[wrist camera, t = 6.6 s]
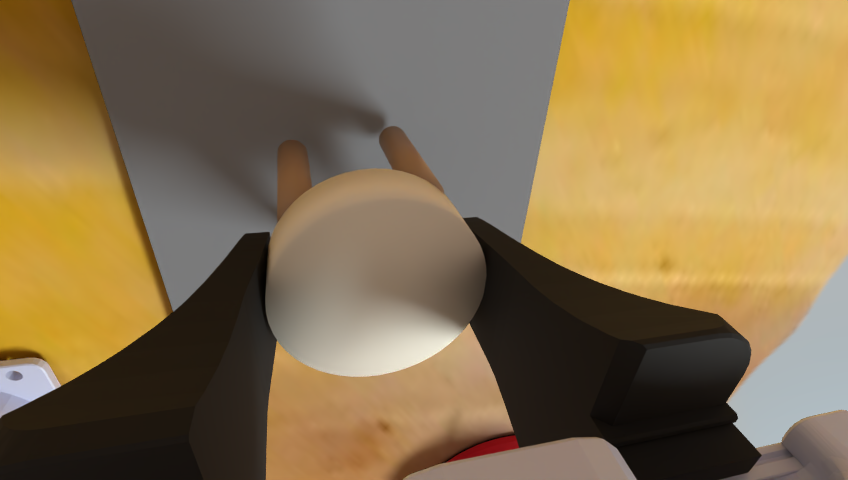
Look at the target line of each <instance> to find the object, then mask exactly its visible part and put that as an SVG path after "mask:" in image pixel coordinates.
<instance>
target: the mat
mask: <svg viewBox="0 0 848 480" xmlns="http://www.w3.org/2000/svg"><path fill="white" fill-rule="evenodd" d="M71 1H72V4H73V7H74V10H75V13H76V16H77V19H78V22H79V25H80V28H81V31H82V35H83V38H84V41H85V44H86V47H87V50H88V53H89V56H90V59H91V62H92V65H93V68H94V71H95V74H96V77H97V80H98V83H99V86H100V89H101V93H102V96H103V99H104V102H105V105H106V108H107V111H108V114H109V117H110V120H111V123H112V126H113V129H114V132H115V135H116V138H117V141H118V144H119V148H120V151H121V154H122V157H123V160H124V163H125V166H126V169H127V172H128V175H129V178H130V181H131V184H132V187H133V190H134V193H135V196H136V199H137V202H138V206H139V209H140V212H141V215H142V218H143V221H144V224H145V227H146V230H147V233H148V236H149V239H150V242H151V245H152V248H153V251H154V254H155V257H156V260H157V264H158V267H159V270H160V273H161V276H162V279H163V282H164V285H165V288H166V291H167V294H168V297H169V300H170V303H171V306H172V309H173V312H174V311H175V310H176V309H177V308H178V307H179V306H181V305H182V304H183V303H184V302H185V301H186V300H187V299H188V298H189V297H190V296H191V295H192V294H193V293H194V292H195V291H196V290H197V289H198V288H199V287H200V286H201V285H202V284H203V283H204V282H205V281H206V279H207V278H208V277H209V276H210V275H211V274H212V273H213V272H214V270H215V269H216V268H217V267H218V266H219V265H220V263H221V262H222V261H223V260H224V259H225V257H226V256H227V255H228V254H229V252H230V251H231V250H232V249H233V247H234V246H235V245H236V244H237V242H238V241H239V240H240V239H241V237H242V236H243V235H244V234H245V233H259V232H270V238H271V235H272V233H273V231H274V229H275V227H276V224H277V223H278V221H277V154H278V148H279V146H280V145H281V144H282V143H283V142H284V141H287V140H297V141H299V142H301V143H302V144H303V145H304V146H305V147H306V149H307V154H308V160H309V167H310V174H311V181H312V187H314V186H315V185H317V184H319V183H321V182H323V181H325V180H327V179H329V178H331V177H334V176H337V175H340V174H343V173H346V172H351V171H356V170H362V169H373V168H376V169H392V167H391V165H390V163H389V162H388V160H387V158H386V156H385V154H384V152H383V150H382V148H381V146H380V144H379V136H380V134H381V132H382V131H383V130H384V129H385V128H387V127H390V126H397V127H399V128H401V129H402V130H403V131H404V133H405V134H406V136H407V137H408V138H409V140H410V141H411V143H412V144H413V146H414V147H415V148H416V150H417V151H418V153H419V154H420V156H421V157H422V158H423V160H424V161H425V163H426V164H427V166H428V167H429V168H430V170H431V171H432V173H433V174H434V176H435V177H436V178H437V180H438V181H439V183H440V184H441V186H442V187H443V189H444V194H445V195H446V196H447V197H448V199H449V200H450V201H451V202H452V204H453V205H454V206H455V208H456V209H457V211H458V212H459V214H460V215H461V217H462V218H469V217H478V218H480V219H482V220H484V221H486V222H487V223H489V224H491V225H492V226H494V227H496V228H497V229H499V230H500V231H502V232H503V233H505V234H507V235H508V236H510V237H511V238H513V239H515V240H516V241H518V242H519V243H521V238H522V234H523V229H524V224H525V219H526V214H527V209H528V204H529V199H530V194H531V189H532V184H533V179H534V174H535V169H536V164H537V159H538V154H539V149H540V144H541V139H542V134H543V129H544V125H545V120H546V115H547V110H548V105H549V100H550V95H551V90H552V85H553V80H554V75H555V70H556V65H557V60H558V55H559V50H560V45H561V40H562V35H563V30H564V25H565V21H566V16H567V11H568V6H569V1H570V0H71ZM392 170H393V169H392Z"/></svg>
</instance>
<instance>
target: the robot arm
mask: <svg viewBox="0 0 848 480" xmlns="http://www.w3.org/2000/svg"><path fill="white" fill-rule="evenodd" d="M463 219H464V221H465V222H466V224H467V225H468V227H469V228H470V230H471V231H472V232H473V234H474V235H475V237H476V239H477V240H478V242H479V244H480V246H481V248H482V251H483V254H484V257H485V262H486V275H487V276H486V282H485V289H484V294H483V298H482V300H481V303H480V305H479V307H478V309H477V311H476V313H475V315H474V316H473V318H472V320H471V321H470V322H469V323H470V325H471V327H472V329H473V331H474V333H475V335H476V337H477V339H478V341H479V343H480V345H481V348H482V350H483V352H484V354H485V356H486V358H487V360H488V362H489V364H490V366H491V369H492V371H493V373H494V375H495V378H496V381H497V384H498V386H499V389H500V392H501V395H502V398H503V400H504V403H505V406H506V409H507V412H508V415H509V418H510V421H511V424H512V427H513V430H514V433H515V436H516V439H517V442H518V446H519V448H517V449H512V450H507V451H502V452H497V453H492V454H487V455H482V456H477V457H472V458H467V459H462V460H457V461H452V462H447V463H442V464H438V465H435V466H432V467H429V468H427V469H424V470H421V471H418V472H415V473H412V474H410V475H408V476H407V477H405V478H404V479H403V480H848V411H846V410H838V411H833V412H828V413H824V414H819V415H814V416H810V417H806V418H804V419H801V420H800V421H798V422H796V423H795V424H794V425H793V426H792V427H791V428H789V430H788V431H787V432H786V434H785V435H784V437H783V438H782V442H781V443H777V444H772V445H768V446H764V447H759V448H755V447H754V446H753V445H752V444H751V443H750V442H749V441H748V440H747V438H746V437H745V436H744V435H743V434H742V433H741V432H740V431H739V430H738V429H737V428H736V427H735V425H734V424H733V423H734V422H736V420H737V419H738V416H737V414H736V412H735V411H734V410H733V409H732V408H731V407H730V406H729V405H728V404H727V403H726V401H727V400H728V398H729V397H730V395H731V394H732V392H733V391H734V389H735V387H736V386H737V384H738V383H739V381H740V380H741V378H742V377H743V375H744V373H745V371H746V369H747V367H748V365H749V362H750V356H751V348H750V344H749V342H748V341H747V340H746V339H745V338H744V337H743V336H742V335H741V334H740V333H738V332H737V331H736V330H735V329H734V328H733V327H732V326H731V325H730V324H728V323H727V322H726V321H725V320H724V319H723V318H722V317H720V316H719V315H718V314H713V313H708V312H704V311H699V310H694V309H689V308H684V307H679V306H674V305H670V304H666V303H662V302H659V301H655V300H651V299H647V298H644V297H640V296H637V295H634V294H631V293H627V292H624V291H621V290H618V289H616V288H613V287H610V286H607V285H604V284H602V283H599V282H596V281H594V280H591V279H589V278H587V277H584V276H582V275H580V274H578V273H575V272H573V271H571V270H569V269H566V268H564V267H562V266H560V265H558V264H556V263H555V262H553V261H551V260H549V259H547V258H545V257H543V256H542V255H540V254H538V253H536V252H534V251H533V250H531V249H529V248H528V247H526V246H524V245H523V244H521V243H519V242H518V241H516V240H515V239H513V238H511V237H510V236H508V235H507V234H505V233H503V232H502V231H500V230H499V229H497V228H496V227H494V226H492V225H491V224H489V223H487V222H486V221H484V220H482V219H480V218H478V217H469V218H463ZM270 239H271V238H270V232H259V233H245V234H244V235H243V236H242V237H241V239H240V240H239V241H238V242H237V244H236V245H235V246H234V247H233V249H232V250H231V251H230V252H229V254H228V255H227V256H226V257H225V259H224V260H223V261H222V262H221V263H220V265H219V266H218V267H217V268H216V269H215V270H214V272H213V273H212V274H211V275H210V276H209V277H208V278H207V279H206V281H205V282H204V283H203V284H202V285H201V286H200V287H199V288H198V289H197V290H196V291H195V292H194V293H193V294H192V295H191V296H190V297H189V298H188V299H187V300H186V301H185V302H184V303H183V304H182V305H181V306H179V307H178V308H177V309H176V310H175V311H174V312H172V313H171V314H170V315H169V316H168V317H166V318H165V319H164V320H163V321H161V322H160V323H159V324H158V325H156V326H155V327H154V328H153V329H151V330H150V331H148V332H147V333H145V334H144V335H143V336H141V337H140V338H138V339H137V340H136V341H134V342H133V343H131V344H130V345H128V346H127V347H126V348H124V349H123V350H121V351H120V352H118V353H117V354H115V355H114V356H112V357H110V358H109V359H107V360H106V361H104V362H102V363H101V364H99V365H98V366H96V367H94V368H92V369H91V370H89V371H87V372H85V373H84V374H82V375H80V376H79V377H77V378H75V379H73V380H71V381H70V382H68V383H66V384H64V385H62V386H61V385H60V383H59V381H58V380H57V378H56V376H55V375H54V373H53V371H52V369H51V368H50V366H49V364H48V363H47V362H46V361H44V360H42V359H39V358H22V359H14V360H5V361H0V480H266V441H267V411H268V400H269V391H270V384H271V377H272V370H273V363H274V356H275V349H276V342H277V339H276V337H275V336H274V334H273V332H272V330H271V328H270V325H269V323H268V319H267V315H266V305H265V293H266V269H267V256H268V246H269V242H270ZM16 371H17V372H16Z"/></svg>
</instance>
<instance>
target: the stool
mask: <svg viewBox="0 0 848 480" xmlns="http://www.w3.org/2000/svg"><path fill="white" fill-rule="evenodd" d="M379 144H380V146H381V148H382V150H383V152H384V154H385V156H386V158H387V160H388V162H389V163H390V165H391V167H392V169H393V170H392V169H376V168H373V169H362V170H356V171H351V172H346V173H343V174H340V175H337V176H334V177H331V178H329V179H327V180H325V181H323V182H321V183H319V184H317V185H315V186H314V187H312V181H311V174H310V167H309V160H308V154H307V149H306V147H305V146H304V145H303V144H302V143H301V142H299V141H297V140H287V141H284V142H283V143H282V144H281V145H280V146H279V148H278V154H277V221H278V223H277V224H276V227H275V229H274V231H273V233H272V235H271V239H270V242H269V246H268V256H267V269H266V293H265V305H266V315H267V319H268V323H269V325H270V328H271V330H272V332H273V334H274V336H275V337H276V339H277V341H278V342H279V344H280V345H281V346H282V347H283V348H284V349H285V350H286V351H287V352H288V353H289V354H290V355H292V356H293V357H294V358H295V359H297V360H299V361H300V362H302V363H304V364H305V365H307V366H310V367H312V368H314V369H317V370H319V371H323V372H326V373H330V374H335V375H341V376H353V377H359V376H375V375H382V374H387V373H392V372H395V371H399V370H402V369H405V368H408V367H410V366H413V365H415V364H418V363H420V362H422V361H424V360H426V359H428V358H429V357H431V356H433V355H434V354H436V353H438V352H439V351H440V350H442V349H443V348H445V347H446V346H447V345H449V344H450V343H451V342H452V341H453V340H454V339H455V338H456V337H457V336H458V335H459V334H460V333H461V332H462V331H463V330H464V329H465V328H466V326H467V325H468V324H469V322H470V321H471V320H472V318H473V316H474V315H475V313H476V311H477V309H478V307H479V305H480V303H481V300H482V298H483V294H484V289H485V282H486V276H487V275H486V262H485V257H484V254H483V251H482V248H481V246H480V244H479V242H478V240H477V239H476V237H475V235H474V234H473V232H472V231H471V230H470V228H469V227H468V225H467V224H466V222H465V221H464V219H463V218H462V217H461V215H460V214H459V212H458V211H457V209H456V208H455V206H454V205H453V204H452V202H451V201H450V200H449V199H448V197H447V196H446V195H445V194H444V189H443V187H442V186H441V184H440V183H439V181H438V180H437V178H436V177H435V176H434V174H433V173H432V171H431V170H430V168H429V167H428V166H427V164H426V163H425V161H424V160H423V158H422V157H421V156H420V154H419V153H418V151H417V150H416V148H415V147H414V146H413V144H412V143H411V141H410V140H409V138H408V137H407V136H406V134H405V133H404V131H403V130H402V129H401V128H399V127H397V126H390V127H387V128H385V129H384V130H383V131H382V132H381V134H380V136H379Z"/></svg>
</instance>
